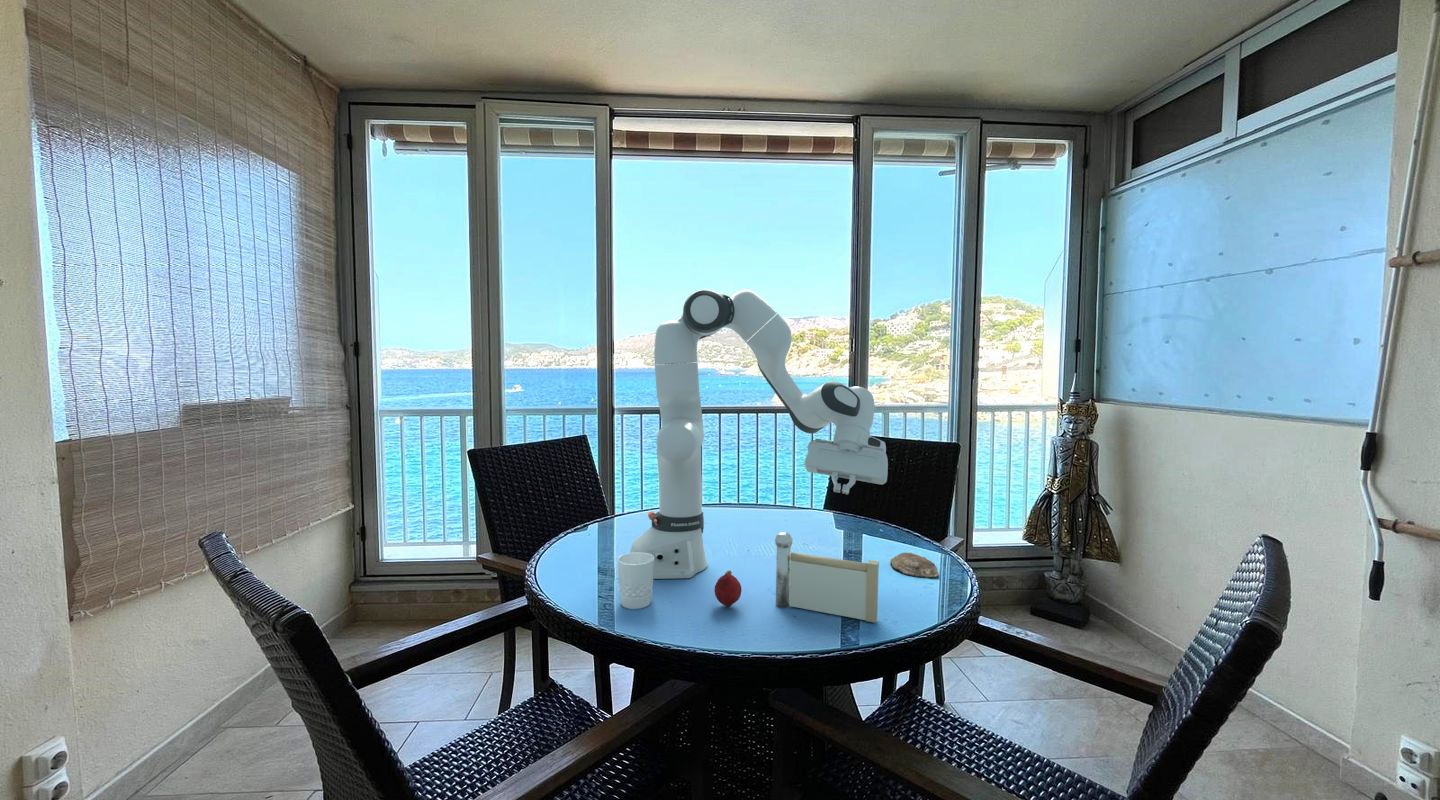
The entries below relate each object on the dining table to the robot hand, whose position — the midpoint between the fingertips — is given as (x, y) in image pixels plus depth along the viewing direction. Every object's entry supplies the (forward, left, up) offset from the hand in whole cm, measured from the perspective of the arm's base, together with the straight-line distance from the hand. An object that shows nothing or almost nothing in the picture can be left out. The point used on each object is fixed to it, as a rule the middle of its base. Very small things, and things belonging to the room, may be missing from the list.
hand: (840, 492), depth 132 cm
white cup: (-49, 0, -22) cm, 54 cm away
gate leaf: (-10, -16, -22) cm, 29 cm away
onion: (-30, -7, -22) cm, 38 cm away
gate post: (-18, -9, -22) cm, 30 cm away
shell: (+24, +4, -23) cm, 33 cm away
